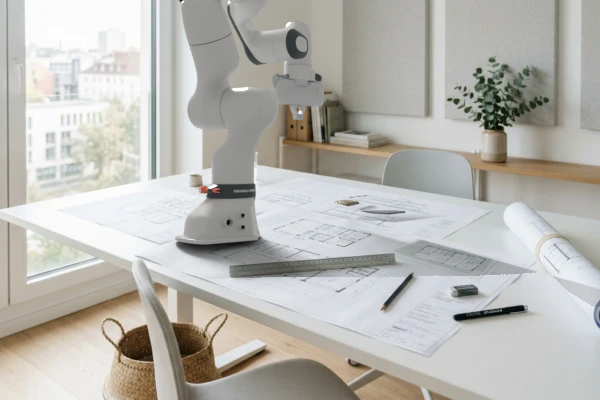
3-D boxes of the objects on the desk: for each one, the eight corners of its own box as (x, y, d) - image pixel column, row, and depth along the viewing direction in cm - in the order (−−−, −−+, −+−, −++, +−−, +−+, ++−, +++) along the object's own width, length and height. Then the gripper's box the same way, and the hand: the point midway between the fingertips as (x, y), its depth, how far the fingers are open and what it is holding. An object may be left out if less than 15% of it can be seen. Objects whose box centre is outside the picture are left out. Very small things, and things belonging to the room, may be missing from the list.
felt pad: (386, 214, 181) (386, 213, 181) (360, 212, 188) (360, 210, 188) (405, 212, 187) (405, 211, 187) (379, 210, 194) (379, 208, 194)
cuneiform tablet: (352, 197, 191) (326, 196, 200) (352, 211, 192) (326, 209, 201) (367, 195, 196) (341, 194, 205) (367, 209, 196) (341, 207, 205)
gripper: (279, 71, 181) (279, 117, 182) (327, 77, 195) (327, 120, 196) (266, 73, 186) (266, 118, 187) (313, 79, 199) (313, 121, 200)
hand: (297, 119), depth 191 cm, fingers closed
